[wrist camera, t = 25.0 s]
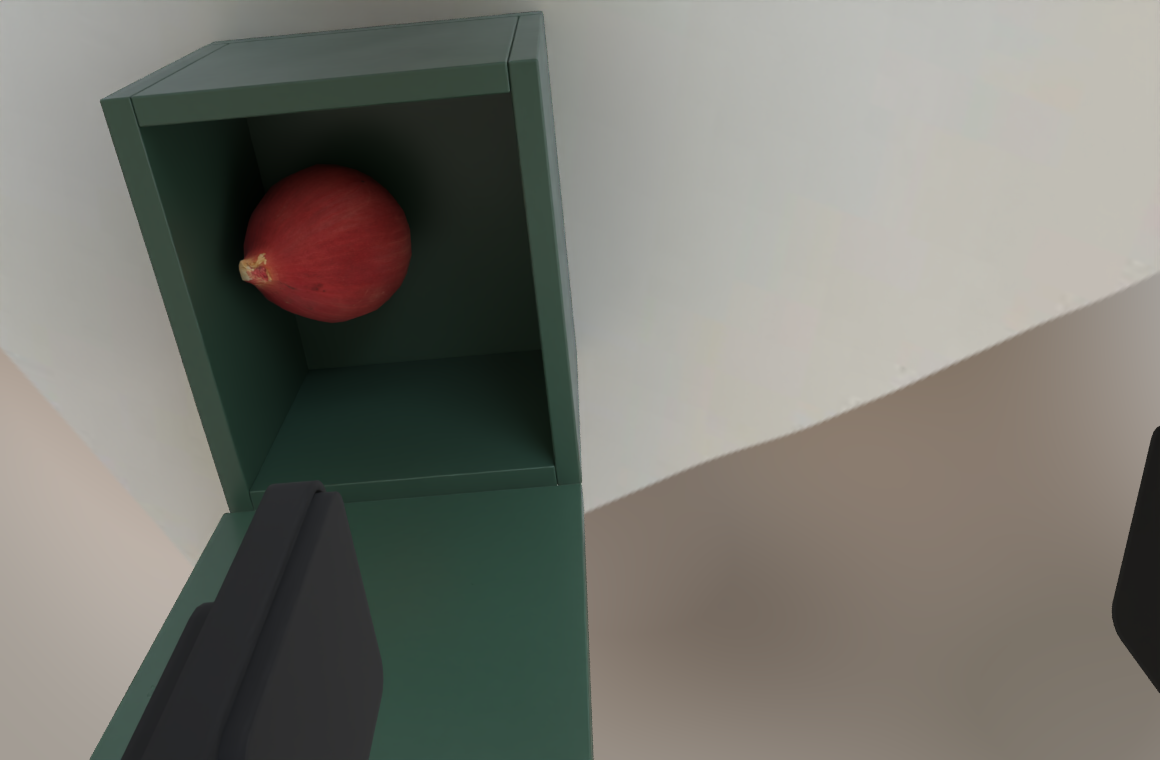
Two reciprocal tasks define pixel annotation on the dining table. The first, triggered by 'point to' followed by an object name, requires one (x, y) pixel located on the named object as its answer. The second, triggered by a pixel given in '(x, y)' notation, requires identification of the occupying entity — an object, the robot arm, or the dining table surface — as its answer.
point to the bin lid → (445, 624)
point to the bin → (435, 274)
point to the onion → (327, 244)
